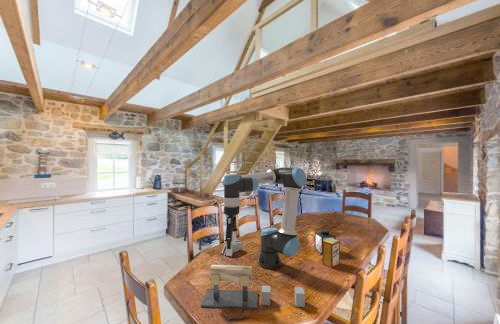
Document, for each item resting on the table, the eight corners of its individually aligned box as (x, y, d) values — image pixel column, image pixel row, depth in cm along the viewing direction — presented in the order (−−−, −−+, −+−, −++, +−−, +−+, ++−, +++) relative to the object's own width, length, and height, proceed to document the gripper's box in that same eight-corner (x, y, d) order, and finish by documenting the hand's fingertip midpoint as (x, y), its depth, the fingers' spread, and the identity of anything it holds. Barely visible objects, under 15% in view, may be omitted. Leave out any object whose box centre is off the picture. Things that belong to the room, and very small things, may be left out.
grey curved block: (237, 247, 165) (240, 236, 162) (241, 251, 161) (244, 240, 159) (220, 253, 153) (223, 242, 151) (223, 257, 150) (226, 246, 148)
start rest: (261, 297, 102) (261, 285, 102) (302, 299, 101) (302, 287, 101) (261, 304, 97) (261, 291, 97) (304, 306, 96) (304, 293, 96)
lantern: (322, 255, 152) (322, 216, 153) (314, 249, 163) (314, 213, 164) (335, 254, 154) (336, 216, 155) (327, 248, 165) (327, 212, 166)
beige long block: (211, 275, 104) (211, 264, 104) (251, 277, 102) (251, 266, 102) (209, 280, 100) (209, 268, 100) (251, 282, 98) (251, 270, 98)
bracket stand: (207, 291, 108) (207, 264, 108) (257, 293, 106) (258, 266, 106) (200, 306, 96) (201, 277, 96) (257, 309, 94) (257, 279, 94)
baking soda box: (331, 268, 133) (331, 243, 133) (322, 264, 138) (322, 240, 138) (339, 264, 138) (339, 240, 138) (330, 260, 143) (331, 237, 144)
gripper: (228, 201, 114) (228, 239, 114) (218, 211, 89) (218, 260, 89) (241, 201, 114) (241, 240, 114) (236, 211, 89) (235, 261, 89)
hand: (231, 249), depth 101 cm, fingers open, 13 cm apart
